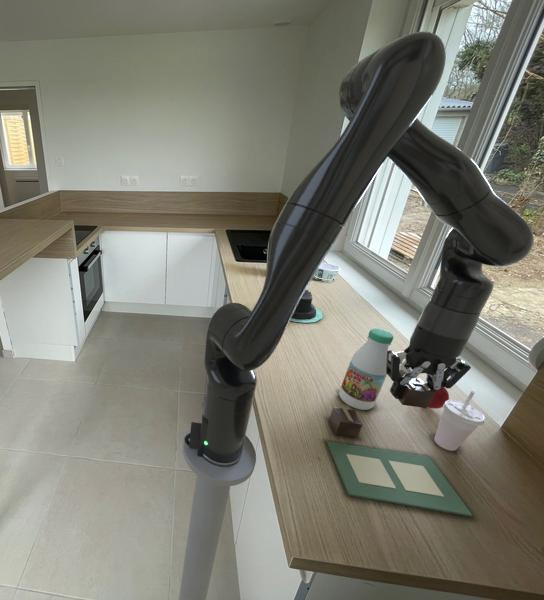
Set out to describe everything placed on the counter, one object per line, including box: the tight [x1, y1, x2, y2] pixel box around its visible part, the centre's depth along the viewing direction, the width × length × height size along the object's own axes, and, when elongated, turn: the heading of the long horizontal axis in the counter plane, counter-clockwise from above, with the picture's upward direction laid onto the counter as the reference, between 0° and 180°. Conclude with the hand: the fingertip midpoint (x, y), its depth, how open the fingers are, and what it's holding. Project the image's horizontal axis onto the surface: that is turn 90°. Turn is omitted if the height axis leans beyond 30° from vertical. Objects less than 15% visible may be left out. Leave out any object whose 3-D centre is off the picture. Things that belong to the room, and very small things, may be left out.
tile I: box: [328, 406, 363, 439], centre depth 73 cm, size 4×4×4 cm
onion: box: [426, 387, 450, 409], centre depth 79 cm, size 6×6×8 cm
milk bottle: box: [338, 328, 394, 411], centre depth 78 cm, size 8×8×20 cm
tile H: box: [397, 375, 434, 409], centre depth 66 cm, size 4×4×4 cm
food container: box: [313, 262, 341, 283], centre depth 162 cm, size 12×12×6 cm
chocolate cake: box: [290, 289, 324, 324], centre depth 127 cm, size 15×19×20 cm
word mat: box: [326, 441, 473, 518], centre depth 63 cm, size 20×12×1 cm, turn 80°
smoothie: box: [433, 390, 487, 452], centre depth 67 cm, size 6×6×14 cm
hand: (408, 397), depth 67 cm, fingers closed on tile H, 4 cm apart
